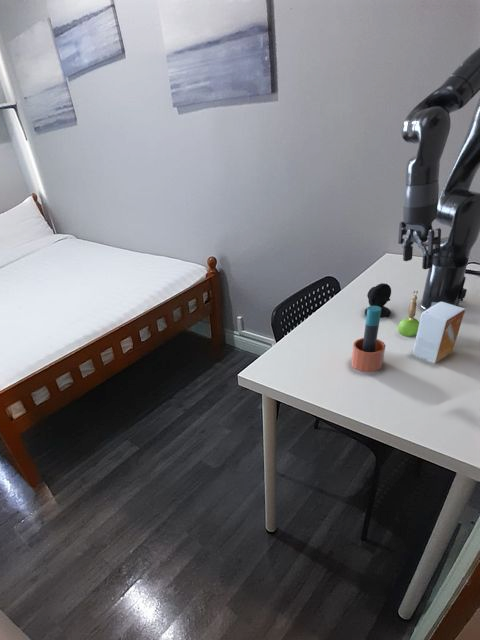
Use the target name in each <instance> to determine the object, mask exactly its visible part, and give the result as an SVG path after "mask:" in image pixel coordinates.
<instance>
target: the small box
mask: <svg viewBox="0 0 480 640" xmlns="http://www.w3.org/2000/svg"><path fill="white" fill-rule="evenodd" d="M465 311H466V307H465V308H464V307H461V306H459V305H458V306H455V305H451V304H448V303H445V302H439V303H437V304H435V305H434V306H432V307H430V308H429V309H427V310H423V311H422V312H421V315H420V319H419V327H418V332H417V334H416V335H415V336H416V337H415V340H414V341H415V342H414V346H413V350H412V355H413V356H416V357H418V358H421V359H422V360H425V361H428V362H430V363H433V364H437V363H438V362H439V361H441V360H442V359H444V358H445V357H447V356H448V355H451V354H453V352H454V348H455V345H456V341H457V338H458V335H459V331H460V329H461V325H462V321H463V318H464V315H465Z"/></svg>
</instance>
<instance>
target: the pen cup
mask: <svg viewBox="0 0 480 640" xmlns="http://www.w3.org/2000/svg"><path fill="white" fill-rule="evenodd" d="M363 340H364V337H361V338H358V339H356V340H355V341H354V342H353V345H352V352H351V362H350V364H351V366H352V368H354V369H355V370H357V371H360V372H362V373H374V372H377V371H379V370H381V369H382V368H383V362H384V358H385V351H386V343H385V342H384V341H382V340H380V339H378V338H377V341H376V347H375V352H364V351H362V348H363Z"/></svg>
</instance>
